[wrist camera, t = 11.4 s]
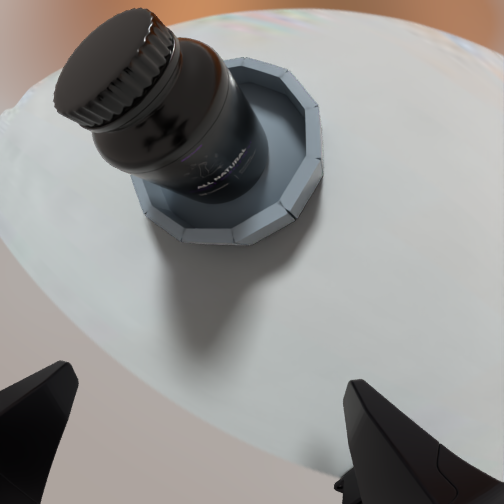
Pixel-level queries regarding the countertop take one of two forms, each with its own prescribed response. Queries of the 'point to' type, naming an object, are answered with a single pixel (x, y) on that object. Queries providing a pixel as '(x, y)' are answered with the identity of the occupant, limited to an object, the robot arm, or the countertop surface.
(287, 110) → the bowl
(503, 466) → the countertop surface
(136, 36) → the supplement bottle
